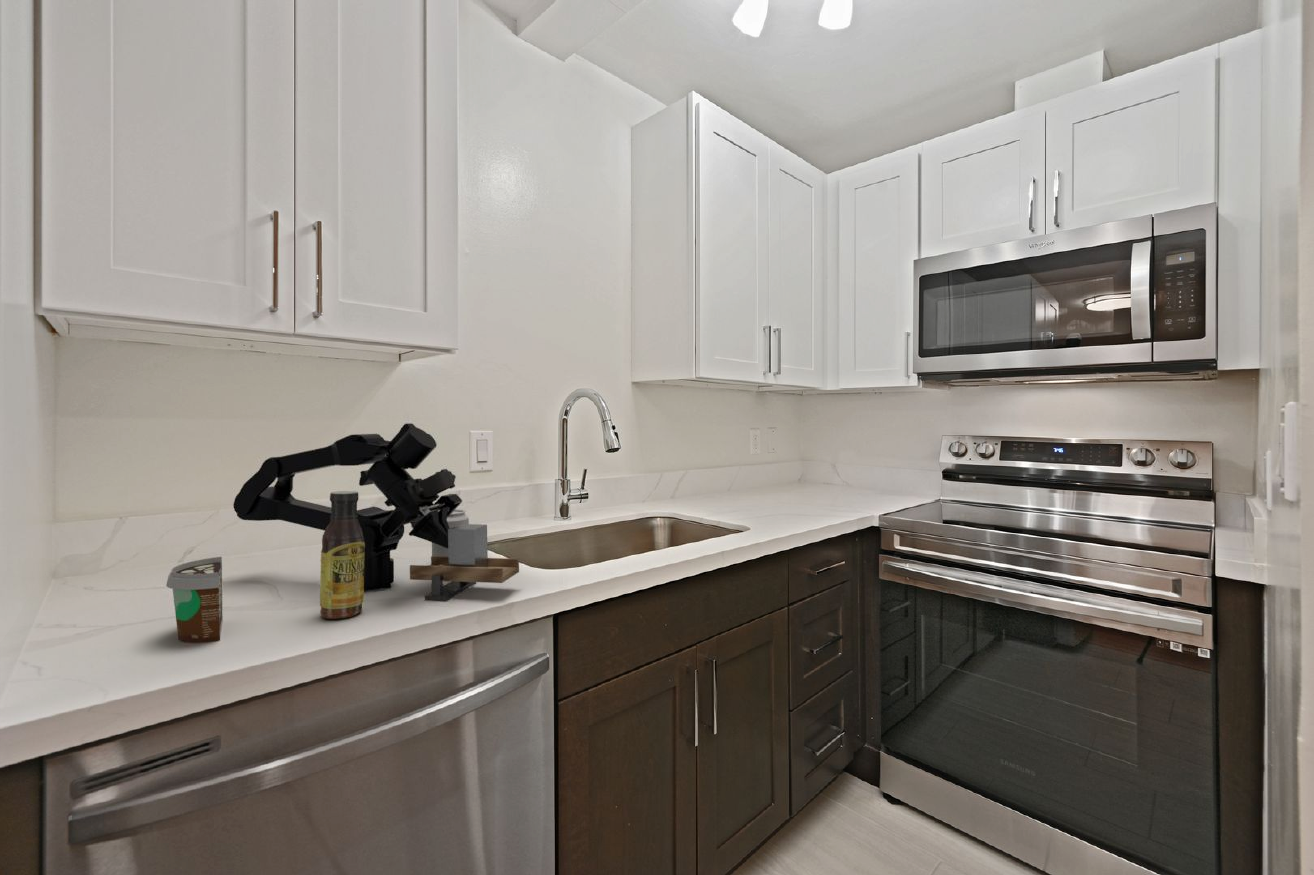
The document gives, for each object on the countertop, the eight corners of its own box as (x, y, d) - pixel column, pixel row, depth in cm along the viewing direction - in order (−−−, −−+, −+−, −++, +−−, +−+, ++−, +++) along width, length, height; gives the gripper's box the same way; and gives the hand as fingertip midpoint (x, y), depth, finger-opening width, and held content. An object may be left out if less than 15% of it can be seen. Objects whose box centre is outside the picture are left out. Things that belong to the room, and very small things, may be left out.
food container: (172, 626, 88) (170, 561, 87) (223, 618, 91) (221, 555, 91) (162, 653, 78) (160, 580, 77) (219, 643, 81) (218, 573, 81)
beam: (409, 580, 103) (408, 564, 103) (433, 569, 111) (433, 554, 111) (501, 584, 100) (500, 567, 100) (519, 572, 108) (519, 557, 108)
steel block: (448, 573, 103) (447, 529, 103) (462, 566, 108) (462, 524, 108) (475, 574, 102) (474, 529, 102) (487, 567, 107) (486, 524, 107)
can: (445, 572, 119) (444, 514, 119) (424, 566, 124) (424, 511, 123) (476, 565, 125) (475, 510, 125) (455, 560, 130) (455, 506, 129)
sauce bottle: (333, 624, 89) (331, 495, 88) (311, 616, 92) (310, 492, 92) (373, 612, 95) (372, 491, 94) (351, 605, 98) (350, 488, 97)
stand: (424, 600, 101) (424, 575, 101) (457, 582, 112) (457, 560, 112) (445, 601, 100) (445, 577, 100) (476, 583, 111) (476, 561, 111)
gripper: (395, 459, 97) (456, 527, 95) (452, 453, 115) (505, 509, 114) (353, 505, 98) (413, 572, 97) (416, 491, 117) (468, 547, 115)
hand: (454, 547), depth 106 cm, fingers closed, pressing on steel block
